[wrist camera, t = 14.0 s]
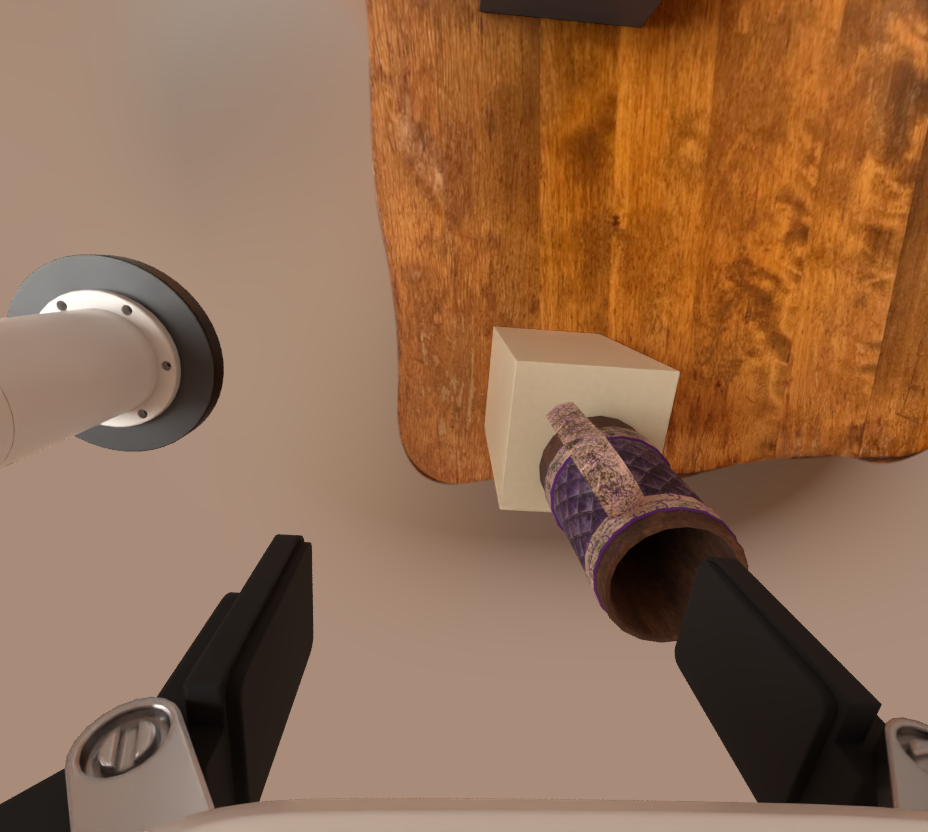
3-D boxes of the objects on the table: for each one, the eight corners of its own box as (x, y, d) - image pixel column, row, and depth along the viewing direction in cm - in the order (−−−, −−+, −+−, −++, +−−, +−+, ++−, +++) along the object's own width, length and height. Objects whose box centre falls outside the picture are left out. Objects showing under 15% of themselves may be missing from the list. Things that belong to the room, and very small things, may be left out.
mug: (664, 481, 30) (794, 614, 19) (567, 531, 31) (633, 687, 20) (596, 347, 27) (699, 407, 16) (492, 407, 28) (518, 504, 17)
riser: (484, 428, 46) (499, 509, 30) (493, 326, 42) (515, 360, 27) (583, 434, 46) (648, 518, 31) (600, 333, 43) (680, 371, 28)
